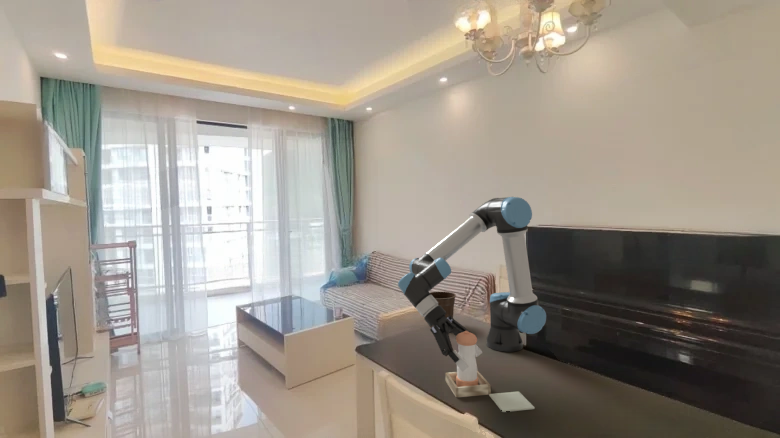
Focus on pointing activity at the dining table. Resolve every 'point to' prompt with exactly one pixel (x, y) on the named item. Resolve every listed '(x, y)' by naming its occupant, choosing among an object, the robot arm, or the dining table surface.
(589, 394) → the dining table surface
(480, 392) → the birch surround
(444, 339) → the robot arm
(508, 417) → the dining table surface
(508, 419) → the dining table surface
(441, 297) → the plant pot
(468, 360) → the pepper shaker
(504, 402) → the sage pad
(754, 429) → the dining table surface
